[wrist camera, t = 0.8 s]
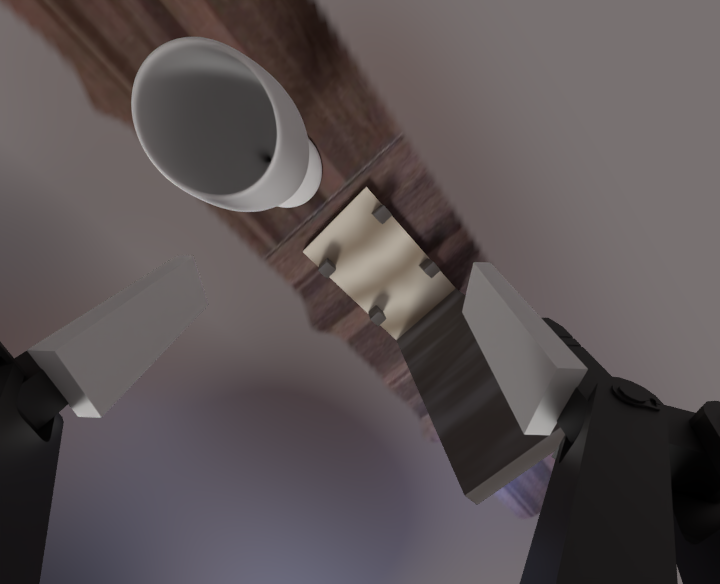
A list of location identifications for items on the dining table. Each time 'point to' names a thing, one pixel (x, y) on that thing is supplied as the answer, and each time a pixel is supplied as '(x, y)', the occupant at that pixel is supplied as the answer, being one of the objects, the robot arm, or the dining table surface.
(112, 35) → the dining table surface
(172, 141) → the wineglass
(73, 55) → the dining table surface
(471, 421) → the pegged display stand
